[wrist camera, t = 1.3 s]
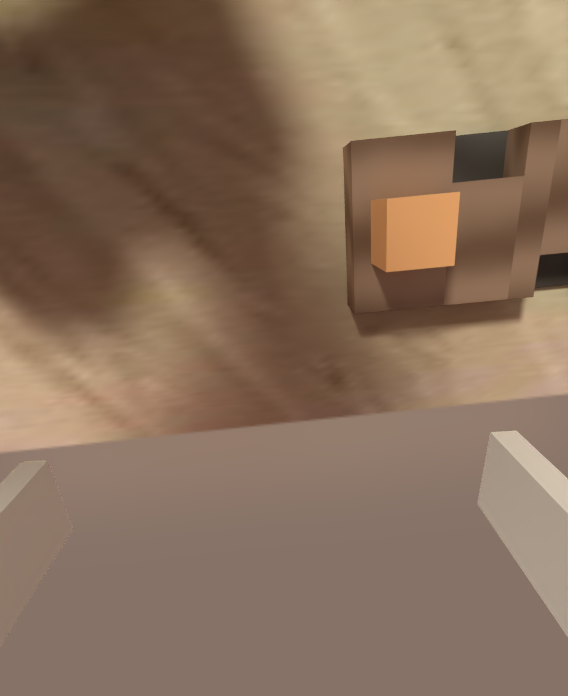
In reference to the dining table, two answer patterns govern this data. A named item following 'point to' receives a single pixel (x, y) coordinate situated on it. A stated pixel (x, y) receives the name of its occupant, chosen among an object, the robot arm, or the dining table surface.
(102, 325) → the dining table surface
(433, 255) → the block
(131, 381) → the dining table surface
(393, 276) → the board
